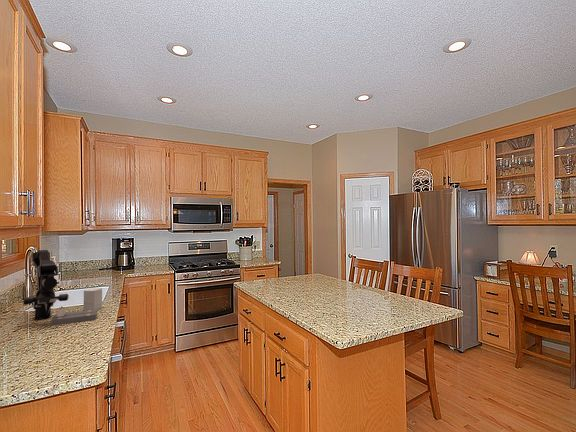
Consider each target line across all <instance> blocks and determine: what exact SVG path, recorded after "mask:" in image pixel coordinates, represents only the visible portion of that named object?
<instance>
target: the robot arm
mask: <svg viewBox="0 0 576 432" xmlns="http://www.w3.org/2000/svg"><path fill="white" fill-rule="evenodd" d="M31 262H32V265H33V267H34V268H35V269H36V279H37V280H36V281H37V292H36V293H35V296H27V297H26V298H24V300H23V305H31V304H32V309H33V310H34V318H33V320H34V321H38V320H45V319H49V318H50V317H51V316H52V307H53V306H54V304H55V303H56V302H57V301H59V302H65V301H68V300H69V294H68V293H60V294H59V295H57V296H56V292H55V288H56V287H57V285H58V279H56V278H55V277H56V276H58V275H59V266H58V265H57V264H56V263H55V261H53V260H51V253H50V252H49V250H48V249H40V250H37V251H36V252H33V253H32V254H31Z"/></svg>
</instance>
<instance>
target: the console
mask: <svg viewBox="0 0 576 432" xmlns="http://www.w3.org/2000/svg"><path fill="white" fill-rule="evenodd" d="M97 315H98V310H88V311H84V310H83V311H82V310H80V311H71V312H65V315H64V316H62V317H57V313H55V314H54V316H53V317H52V318H51V320H50V326H58V325H59V326H60V325H67V324H74V323H75V324H76V323H81V322H82V323H84V322H91V321H96V319H97Z"/></svg>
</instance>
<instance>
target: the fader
mask: <svg viewBox="0 0 576 432" xmlns="http://www.w3.org/2000/svg"><path fill="white" fill-rule="evenodd" d="M65 313H66V307H65V306H60V307H58V308H57V310H56V314H57V317H62V316H64V315H65Z"/></svg>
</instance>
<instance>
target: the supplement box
mask: <svg viewBox="0 0 576 432" xmlns="http://www.w3.org/2000/svg"><path fill="white" fill-rule="evenodd" d="M101 309H103V288H94V287H93V288H92V287H91V288H89V289H85V290H83V311H88V310H97V311H98V310H101Z"/></svg>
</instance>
